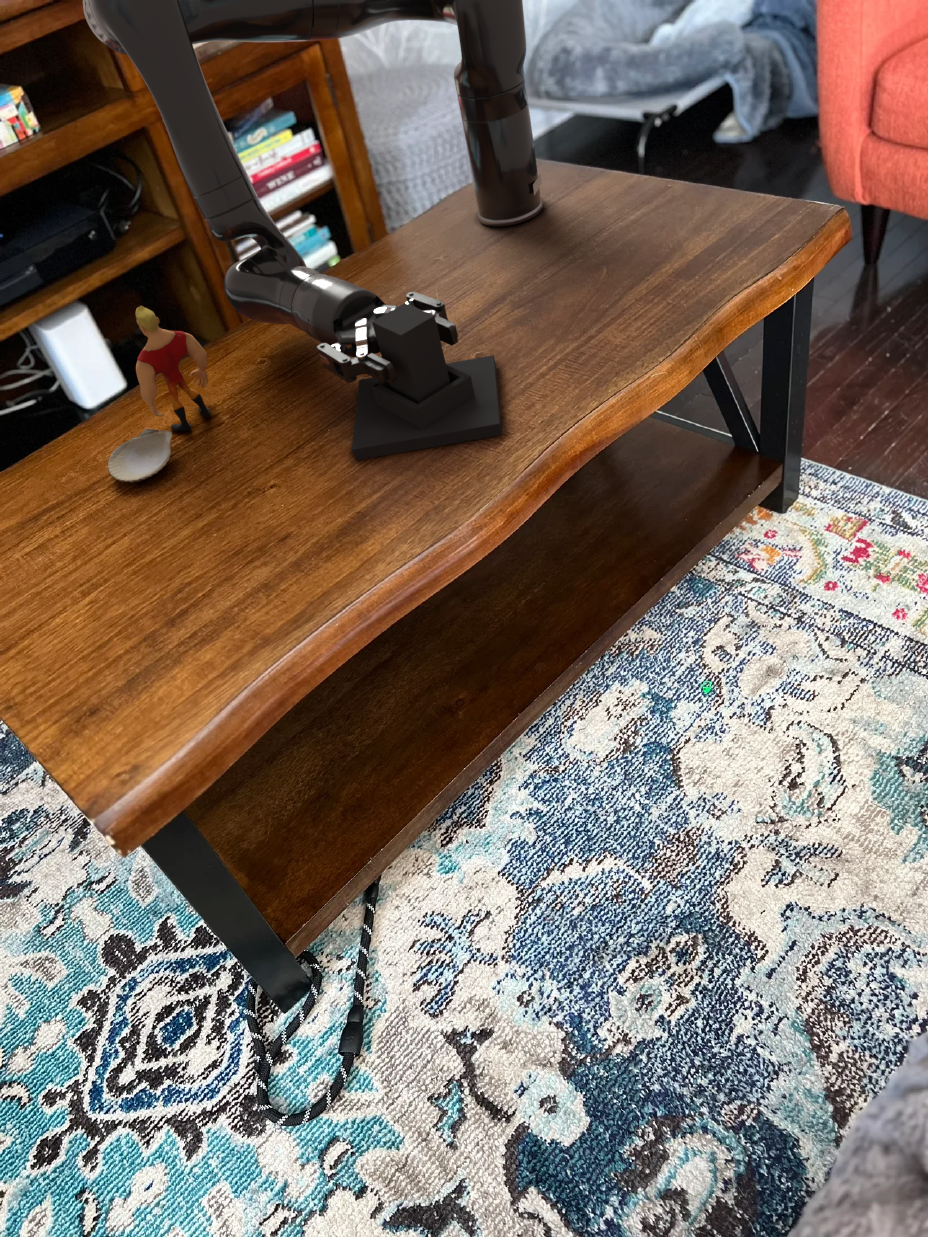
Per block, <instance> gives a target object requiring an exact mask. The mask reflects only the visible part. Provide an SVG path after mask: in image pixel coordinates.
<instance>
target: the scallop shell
mask: <svg viewBox="0 0 928 1237" xmlns="http://www.w3.org/2000/svg"><path fill="white" fill-rule="evenodd" d="M172 438H173V432H172V430H164V429H163V430H161V429H160V430H159V429H155V428H144V430H143V431H142V432H141V433H140V434H139V435H137V436H135V437H133V438H131V439H129V440H127V441H125V442H123V443H122V444H120V445H118V446H117V447H116V448H115V449H114V450H113V451H112V452H111V455H110V456H109V458H108V461H107V463H106V464H107V470H108V474H109V476H110V477H111V478H114V479H115V480H116V481H119V482H123V483H135V482H141V481H144V480H145V481H146V480H147V479H148V478H152V477H153V476H155V475H156V474H158V473H159V472H160V471H161V470H162V469H163V468H164V467H165V466H167V463H168V462H169V461H170V458H171V454H172V448H171V447H172V446H171V443H172Z"/></svg>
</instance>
